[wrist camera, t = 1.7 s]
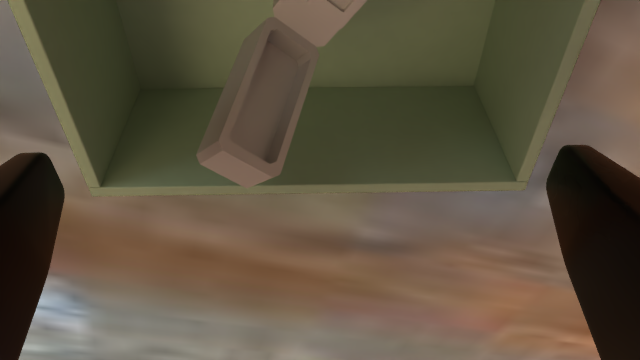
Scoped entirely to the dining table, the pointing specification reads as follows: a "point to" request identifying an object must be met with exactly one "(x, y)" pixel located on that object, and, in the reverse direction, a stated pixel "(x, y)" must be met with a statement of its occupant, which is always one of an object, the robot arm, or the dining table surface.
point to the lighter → (269, 89)
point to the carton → (310, 91)
